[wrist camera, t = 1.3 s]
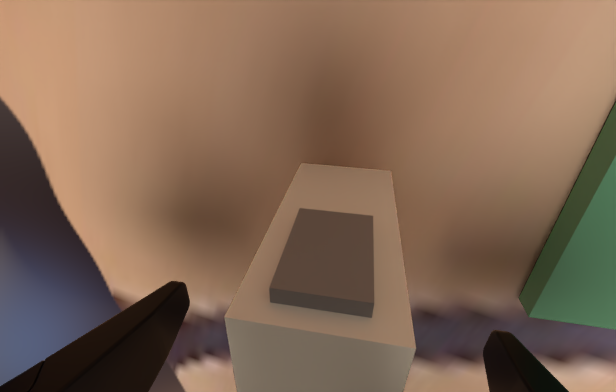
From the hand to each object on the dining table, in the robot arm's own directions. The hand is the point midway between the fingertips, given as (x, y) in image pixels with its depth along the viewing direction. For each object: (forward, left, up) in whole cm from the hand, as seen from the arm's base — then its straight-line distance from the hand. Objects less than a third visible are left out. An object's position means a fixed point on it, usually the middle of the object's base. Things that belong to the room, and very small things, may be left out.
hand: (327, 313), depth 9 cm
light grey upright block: (0, 0, -5) cm, 5 cm away
